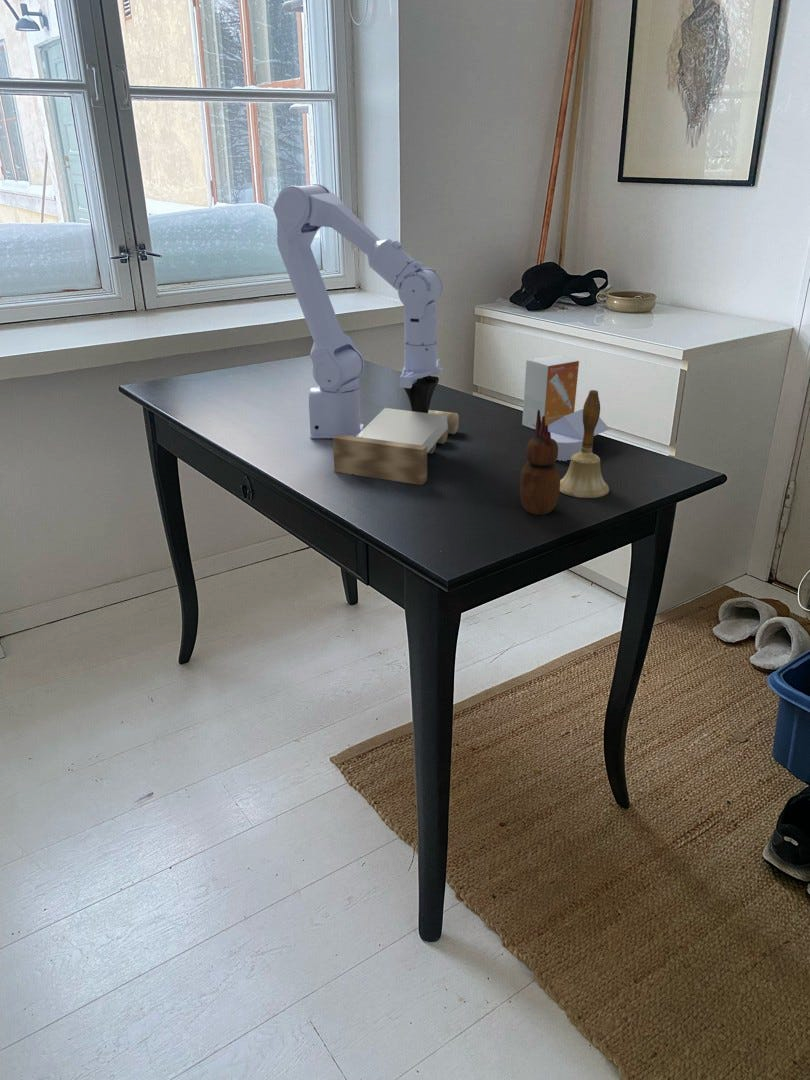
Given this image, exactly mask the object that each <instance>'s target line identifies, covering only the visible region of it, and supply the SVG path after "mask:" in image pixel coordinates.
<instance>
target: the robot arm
mask: <svg viewBox="0 0 810 1080" xmlns="http://www.w3.org/2000/svg"><path fill="white" fill-rule="evenodd" d="M272 210H273V213H274V215H275V217H276V229H277V230H276V235H277V236H276V237H277V238H276V239H277V240H276V242H277V243H276V244H277V247H278V248H277V249H278V251H279V252H280V253H279V254H280V256H281V259H282V260H283V261H282V262H283V264H284V267H285V270H286V271H287V274H288V277H289V280H290V282H291V284H292V287H293V290H294V292H295V296H296V298H297V301H298V303H299V306H300V308H301V310H302V311H301V312H302V314H303V317H304V319H305V322H306V324H307V327H308V330H309V333H310V335H311V337H312V338H311V339H312V340H313V343H312V347H311V350H310V353H309V356H310V359H311V363H312V377H313V379H314V382H315V383H316V384H317V385H318V386H313V387H310V389H309V393H308V410H309V412H308V413H309V414H308V415H309V428H310V435H309V438H310V439H333V437H335V436H336V435H338V434H340V435H347V436H355V437H356V436H357V435H358V434H359V433H360V432H361V431H362V430H363V429H364V428H365V425H364V424H363V423H361V419H360V418H361V416H360V413H361V412H360V384H359V383H360V379H359V378H360V377H361V376H362V375H363V373H364V370H365V360H364V356H363V355H362V354H361V352H360V351H359V350H358V348H356V346H355V345H354V342H353V340H352V337H350V336H349V335H347V334H346V333H345V332H343V330H342V329H341V325H340V323H339V320H338V317H337V315H336V312H335V310H334V306H333V304H332V301H331V299H330V296H329V294H328V290H327V288H326V285H325V282H324V279H323V277H322V274H321V272H320V270H319V269H320V268H319V267H318V266H319V265H318V264H317V261H316V259H315V256H314V253H313V250H312V246H311V245H312V243H313V241H314V240H315V237H316V235H317V232H318V231H319V230H320V228H323V227H324V228H332V230H334V231H335V232H337V233H338V234H340V235H341V236H342V238H344V239H346V240H347V241H348V242H349V243H351V244H352V245H353V246H355V247H356V248H357V249H358V250H360V251H361V252H362V253H363V254H365V255H366V256H367V260H368V266H369V268H370V269H372V270H373V271H374V272H375V273H376V274H377V275H379V277H381V278H382V279H383V280H384V281H385V282H387V283H388V284H389V285H390V286H391V287H393V289H395V290H396V291H397V295H398V297H399V300H400V302H401V303H402V304H403V306H404V307H403V308H404V309H403V311H404V312H403V314H404V316H403V317H404V318H403V319H404V320H403V321H404V325H403V326H404V327H403V328H404V330H403V331H404V332H403V333H404V335H403V337H404V338H403V340H404V344H403V345H404V346H403V347H404V349H403V351H404V354H403V355H404V358H403V359H404V361H403V362H404V363H403V365H404V366H403V368H402V371H401V372H402V373H401V375H400V376H398V377H399V380H398V381H399V388H403V389H404V390H405V393H406V395H407V397H408V400H409V403H410V408H411V411H414V412H422V413H428V411H429V410H430V405H431V401H432V398H433V395H434V392H435V390H436V387H437V386H438V384H439V380H440V377H438V376H435V375H440V374H442V373H443V372H444V368H443V367H441V358H437V357H438V355H437V354H438V353H437V352H438V350H437V349H438V299H439V298H440V297H441V295H442V292H443V281H442V279H441V276H440V275H439V274H438V273H437V272H436V270H435V269H434V268H431V267H423V264H424V263H423V262H421V261H420V260H415V259H414V258H413V257H411V256H410V255H409V254H408V253H407V252H406V251H405V250H403V248H402V247H403V244H402V243H401V242H400V241H399V240H394V241H393V240H392V239H389V238H388V239H385V238H384V239H380V238H379V237H378V236H377V235H376V234H375V233H374V232H373V231H372V230H371V229H370V228H369V227H367V226H366V224H365V223H363V221H362V220H360V218H358V217H357V216H356V215H355V214H354V213H353V212H352V211H351V210H350V209H349V208H348V207H347V206H346V205H345V204H344V203H343V201H341V199H340V197H339V196H338V195H337V194H335V193H334V192H331V190H329V188H328V187H326V186H325V185H323V184H320V183H314V184H311V185H309V184H308V185H300V186H299V185H289V186H286V187H284V188H282V190H281V191H280V192H279V194H278V195H277V198H276V201H275V203H274V206H273V208H272ZM433 375H434V376H433Z"/></svg>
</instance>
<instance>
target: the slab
mask: <svg viewBox="0 0 810 1080" xmlns="http://www.w3.org/2000/svg"><path fill="white" fill-rule="evenodd" d="M446 430H447V416H446V415H438V414H430V413H422V412H414V411H412V410H405V409H397V408H389V407H384V408H383V409H382V410H381V411H380V412H379V413H378V414H377V415H376V416H375V417H374V418H373V419H372V420H371V421H370V422H369V423H368V424H367V425H366V426H364V428H363V430H362V431H361V432H360V433H359V434H358V435H357V436H356V437H362V438H370V439H378V440H385V441H393V442H400V443H408V444H416V445H423V446H427V454H429V453H428V451H429V450H430V449H431V448H432V447H433V445H434V444H435V443H436V442H437V441H438V439H439V438H440V437H441V436H442V435H443V433H444V432H445V431H446ZM436 444H437V443H436Z"/></svg>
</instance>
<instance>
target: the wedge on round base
mask: <svg viewBox="0 0 810 1080" xmlns="http://www.w3.org/2000/svg"><path fill="white" fill-rule="evenodd" d="M609 430H610V428H609V427H608V425H607V424H606V423H605V422H604V420H603V419H602V418H601V417H600V416H599V420H598V423H597V425H596V427H595V430H594V437H595V436H597V435H599V434H600V435H601V434H602V433H605V432H607V431H609ZM548 432H550V433H551V438H552V439H554V440H555V441H556V442H557V444H558V458H557V460H559V461H560V462H568V461H567V460H571V458H572V456H573V455H574V454H576V453H579V452H580V451H581V447H582V443H583V436H584V425H583V408H582V409H579V410H577V411H576V410H575V411H574V413H571V414H568V415H566V416H563V417H562V418H560V419H558V420H556V421H555V422H553V423H551V424H550V425H548ZM561 460H562V461H561Z"/></svg>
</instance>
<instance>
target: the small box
mask: <svg viewBox="0 0 810 1080" xmlns="http://www.w3.org/2000/svg"><path fill="white" fill-rule="evenodd" d="M579 366H580V361H579V360H578V359H574V358H571V357H567V356H565V355H560V354H555V355H550V356H549V355H548V356H541V357H537V358H531V359H526V362H525V377H524V378H525V379H524V391H523V392H524V393H523V407H522V408H523V409H522V420H521V421H522V422H521V423H522V424H521V425H522V426H525V427H527V428H530V429H532V430H535V429H536V420H537V412H538V410H540V417H541V421H542V417H543V416H545V425H550V424H551V423H553V422H555V421H556V420H558V419H560V418H562V417H563V416H566V415H568V414H571V413H574V412H575V409H576V408H575V406H576V397H577V386H578V376H579V368H580V367H579Z"/></svg>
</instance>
